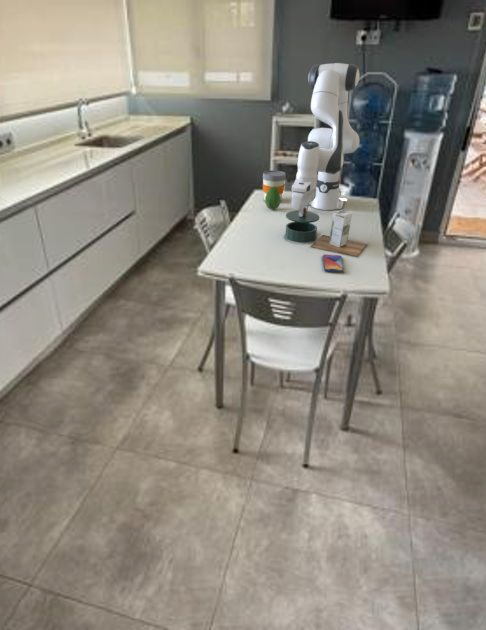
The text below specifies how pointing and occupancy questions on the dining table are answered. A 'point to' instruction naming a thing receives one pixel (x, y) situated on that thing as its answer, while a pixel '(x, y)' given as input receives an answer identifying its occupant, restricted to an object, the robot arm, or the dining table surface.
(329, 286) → the dining table surface
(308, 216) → the pot lid
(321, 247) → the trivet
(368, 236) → the dining table surface
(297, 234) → the pot
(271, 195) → the avocado
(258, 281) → the dining table surface
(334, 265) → the smartphone
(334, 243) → the syrup box
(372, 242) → the dining table surface
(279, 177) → the reusable coffee cup
